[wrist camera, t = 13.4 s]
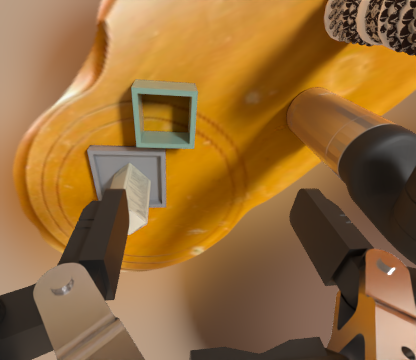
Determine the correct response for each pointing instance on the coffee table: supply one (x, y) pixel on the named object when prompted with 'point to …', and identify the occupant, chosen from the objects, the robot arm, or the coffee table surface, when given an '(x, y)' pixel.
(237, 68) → the coffee table surface
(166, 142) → the teal square open box
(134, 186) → the skincare box
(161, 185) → the tray
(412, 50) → the decorative candle
